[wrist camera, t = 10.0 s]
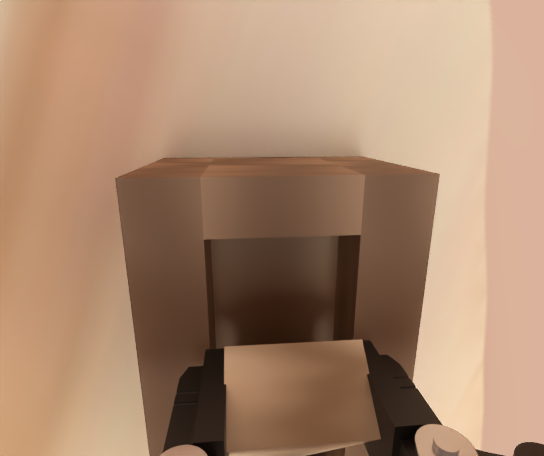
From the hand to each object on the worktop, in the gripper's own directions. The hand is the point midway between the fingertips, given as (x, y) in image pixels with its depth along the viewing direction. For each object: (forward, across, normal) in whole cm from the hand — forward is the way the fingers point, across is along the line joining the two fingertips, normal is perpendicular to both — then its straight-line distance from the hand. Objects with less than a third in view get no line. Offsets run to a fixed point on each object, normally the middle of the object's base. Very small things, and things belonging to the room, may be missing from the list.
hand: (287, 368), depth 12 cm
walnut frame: (+8, 0, +4) cm, 9 cm away
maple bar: (+3, 0, +4) cm, 5 cm away
